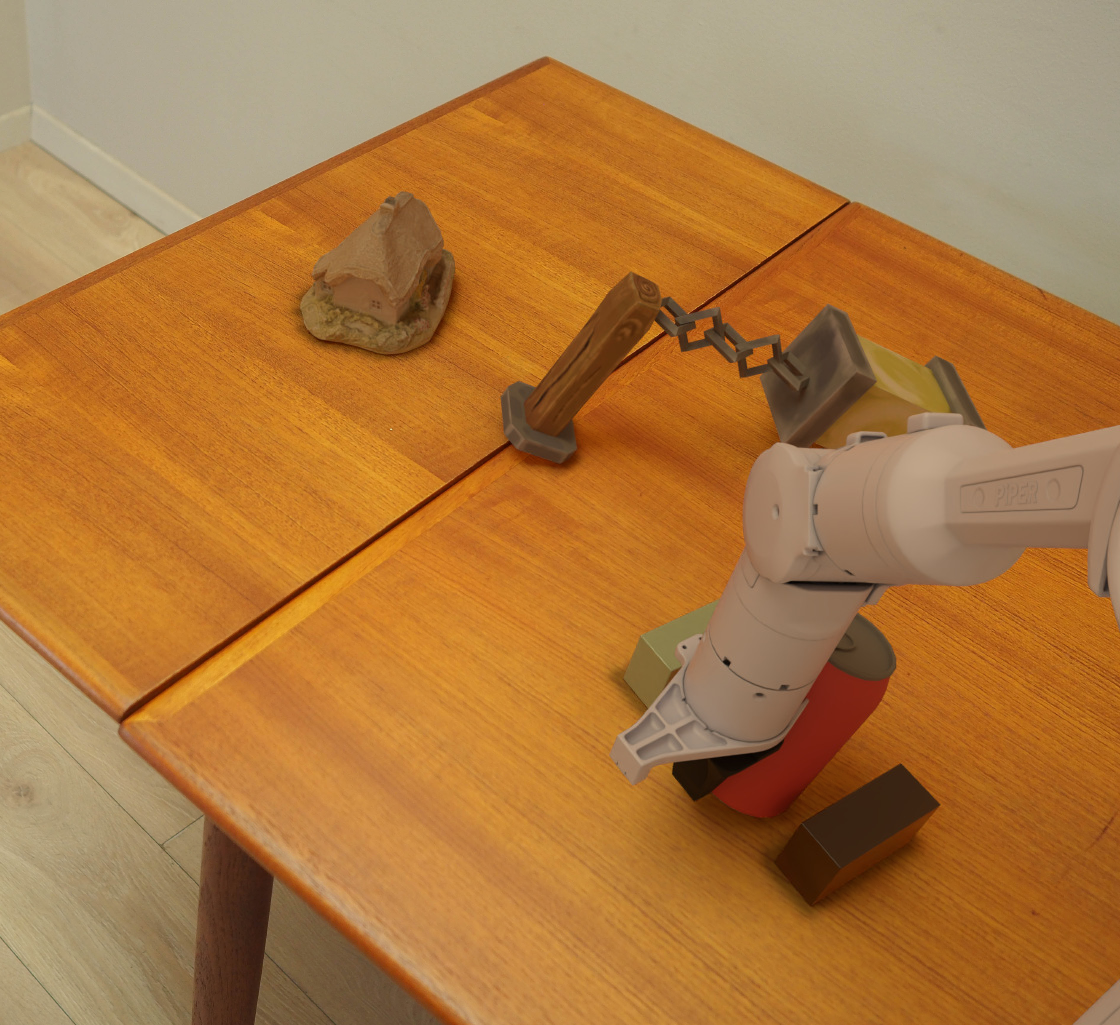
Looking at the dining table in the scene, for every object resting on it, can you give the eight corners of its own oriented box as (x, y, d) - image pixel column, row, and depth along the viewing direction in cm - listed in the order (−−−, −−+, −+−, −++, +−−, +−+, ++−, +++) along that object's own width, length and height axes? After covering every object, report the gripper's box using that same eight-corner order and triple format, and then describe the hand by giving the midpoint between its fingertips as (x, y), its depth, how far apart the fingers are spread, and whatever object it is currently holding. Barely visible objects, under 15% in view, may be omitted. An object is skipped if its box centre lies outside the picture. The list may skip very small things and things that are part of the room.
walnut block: (907, 843, 67) (941, 804, 64) (810, 906, 64) (840, 868, 61) (870, 802, 69) (901, 762, 66) (773, 861, 65) (801, 822, 62)
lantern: (803, 502, 99) (499, 381, 88) (953, 363, 88) (626, 206, 78) (826, 571, 94) (505, 451, 83) (988, 432, 83) (643, 274, 72)
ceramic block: (746, 666, 75) (769, 623, 72) (652, 714, 71) (671, 671, 68) (716, 633, 76) (737, 589, 73) (622, 678, 73) (640, 634, 70)
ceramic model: (406, 375, 91) (420, 267, 83) (279, 326, 93) (282, 218, 86) (473, 284, 100) (492, 181, 93) (357, 243, 102) (366, 139, 95)
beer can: (665, 737, 68) (770, 594, 61) (744, 726, 72) (852, 589, 65) (726, 831, 64) (847, 689, 57) (808, 814, 68) (930, 679, 61)
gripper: (813, 538, 62) (734, 685, 72) (600, 636, 55) (546, 782, 65) (911, 633, 58) (814, 774, 68) (695, 750, 52) (622, 886, 62)
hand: (688, 785), depth 66 cm, fingers closed, pressing on beer can
